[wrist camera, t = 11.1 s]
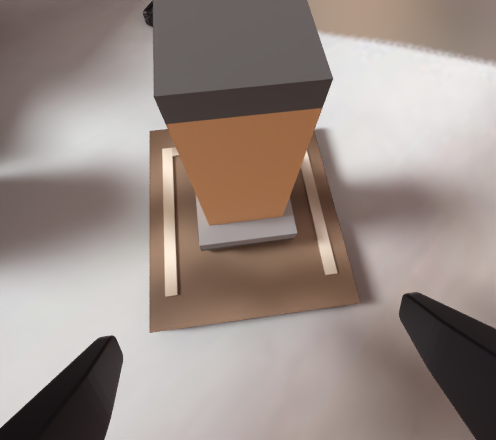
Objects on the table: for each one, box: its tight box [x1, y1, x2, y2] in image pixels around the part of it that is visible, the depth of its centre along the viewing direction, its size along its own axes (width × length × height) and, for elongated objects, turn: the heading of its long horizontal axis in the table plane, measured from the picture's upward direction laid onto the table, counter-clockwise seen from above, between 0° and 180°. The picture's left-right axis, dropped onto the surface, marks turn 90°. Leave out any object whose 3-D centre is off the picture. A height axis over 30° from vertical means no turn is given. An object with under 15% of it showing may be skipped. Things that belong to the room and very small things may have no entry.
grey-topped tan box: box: [153, 0, 333, 251], centre depth 13 cm, size 7×6×13 cm
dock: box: [150, 129, 360, 333], centre depth 20 cm, size 16×14×2 cm
